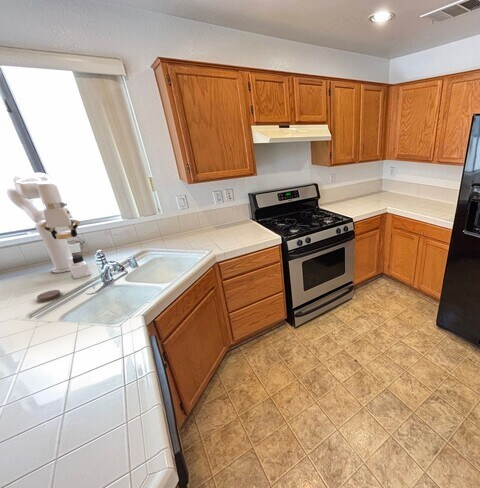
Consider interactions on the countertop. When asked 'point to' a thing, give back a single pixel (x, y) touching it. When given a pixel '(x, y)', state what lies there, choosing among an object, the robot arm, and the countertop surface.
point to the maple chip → (63, 235)
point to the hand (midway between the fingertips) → (65, 237)
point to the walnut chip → (49, 295)
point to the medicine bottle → (78, 266)
